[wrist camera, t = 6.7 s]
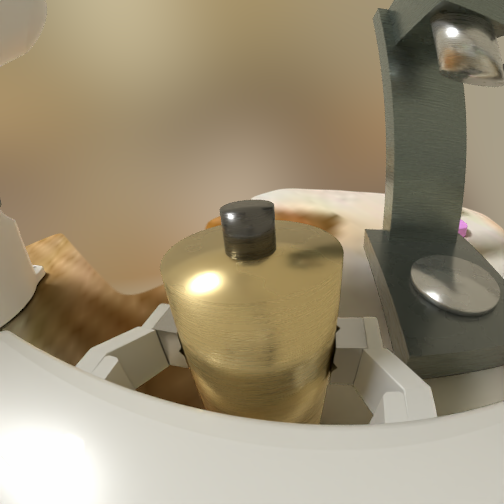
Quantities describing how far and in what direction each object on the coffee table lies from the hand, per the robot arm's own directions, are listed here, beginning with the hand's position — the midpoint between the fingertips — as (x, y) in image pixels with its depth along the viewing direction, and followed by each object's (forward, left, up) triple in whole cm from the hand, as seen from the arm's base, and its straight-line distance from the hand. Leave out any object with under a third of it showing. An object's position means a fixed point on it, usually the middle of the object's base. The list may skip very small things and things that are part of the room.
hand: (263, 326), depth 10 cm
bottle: (0, -1, -5) cm, 6 cm away
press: (+15, +14, -6) cm, 21 cm away
